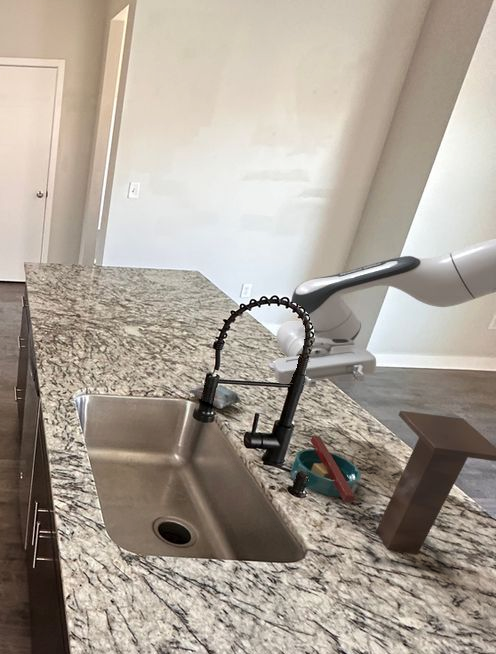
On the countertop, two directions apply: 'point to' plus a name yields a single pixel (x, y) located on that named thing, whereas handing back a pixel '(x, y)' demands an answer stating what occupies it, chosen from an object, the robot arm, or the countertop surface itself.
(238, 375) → the countertop surface
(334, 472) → the red square bar
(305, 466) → the bowl
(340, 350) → the robot arm
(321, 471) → the block
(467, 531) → the countertop surface
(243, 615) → the countertop surface
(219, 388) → the packaged food
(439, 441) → the brown pedestal stand
